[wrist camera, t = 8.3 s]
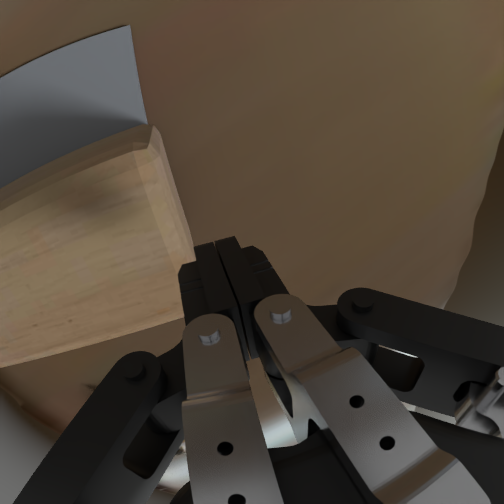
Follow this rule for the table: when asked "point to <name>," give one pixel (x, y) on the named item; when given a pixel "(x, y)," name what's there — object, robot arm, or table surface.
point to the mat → (68, 102)
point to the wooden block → (91, 247)
